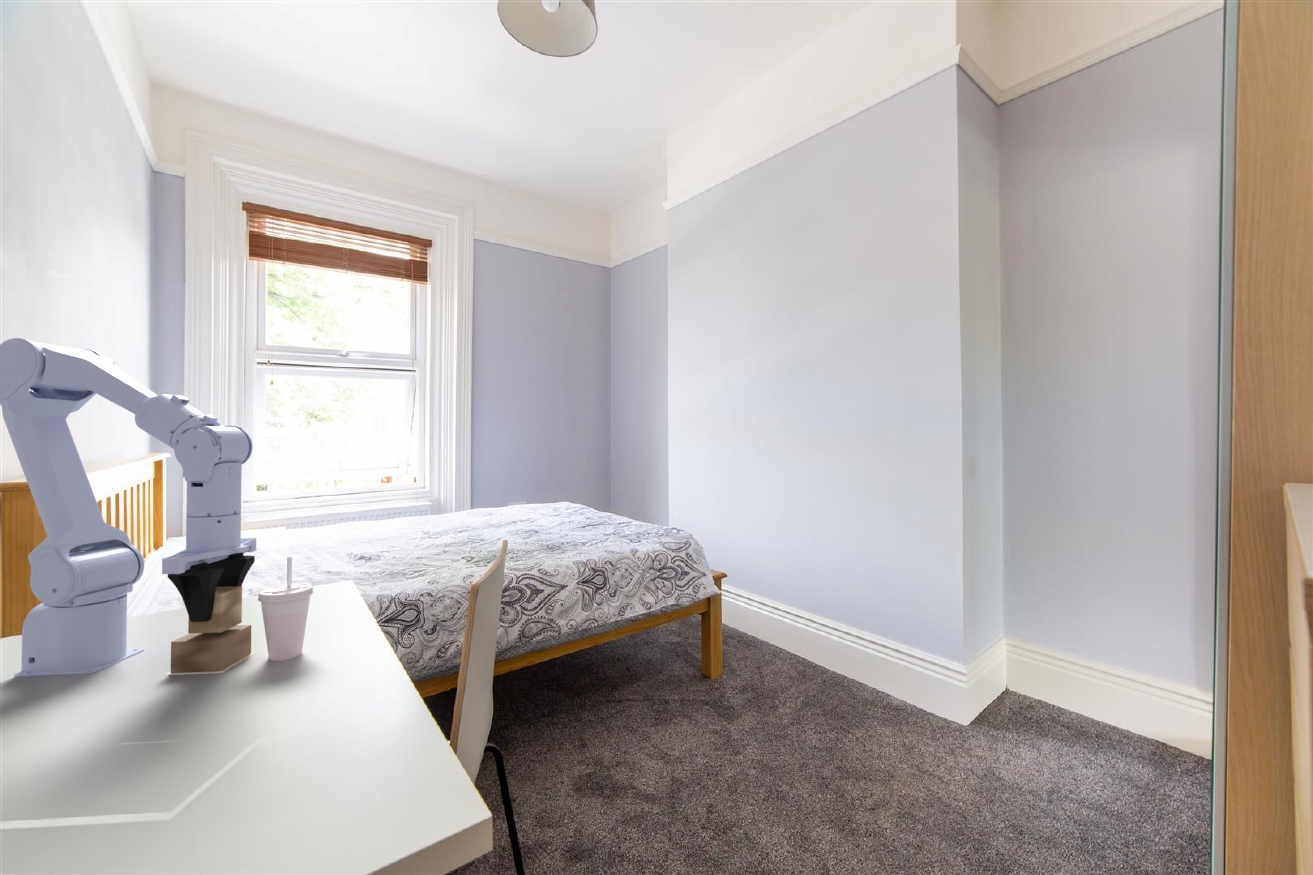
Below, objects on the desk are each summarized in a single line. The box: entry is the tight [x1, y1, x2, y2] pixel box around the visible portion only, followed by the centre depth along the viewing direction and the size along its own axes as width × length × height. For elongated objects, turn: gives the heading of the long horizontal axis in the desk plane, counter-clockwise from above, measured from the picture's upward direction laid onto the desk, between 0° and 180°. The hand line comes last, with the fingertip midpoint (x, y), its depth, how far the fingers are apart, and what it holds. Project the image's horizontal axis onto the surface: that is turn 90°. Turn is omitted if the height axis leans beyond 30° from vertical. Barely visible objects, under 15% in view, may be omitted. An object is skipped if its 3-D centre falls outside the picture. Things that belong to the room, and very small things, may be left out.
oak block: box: [187, 585, 243, 634], centre depth 73 cm, size 4×4×5 cm
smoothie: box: [257, 556, 314, 662], centre depth 75 cm, size 6×6×14 cm
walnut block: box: [170, 624, 252, 673], centre depth 73 cm, size 6×6×4 cm
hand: (213, 615), depth 73 cm, fingers closed on oak block, 4 cm apart
